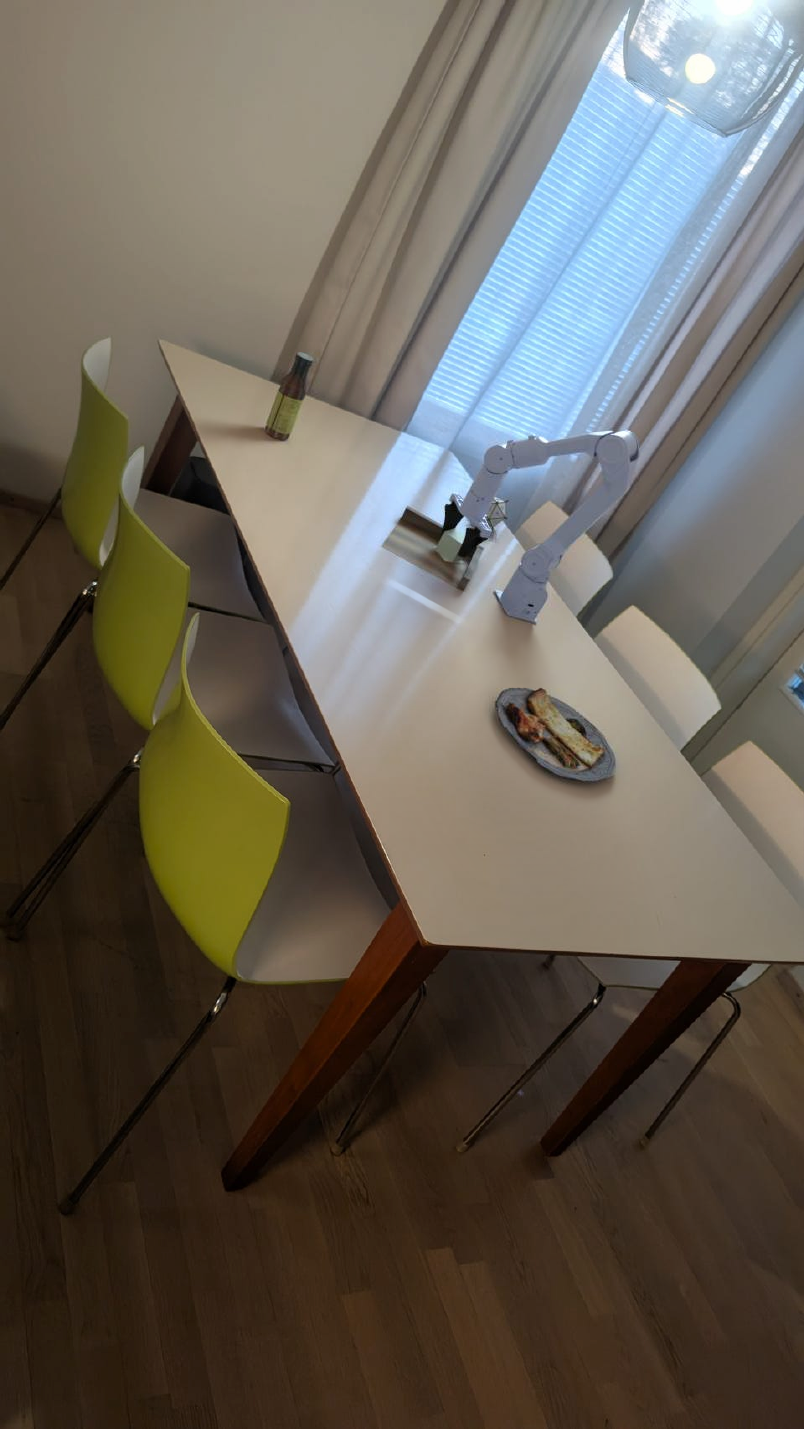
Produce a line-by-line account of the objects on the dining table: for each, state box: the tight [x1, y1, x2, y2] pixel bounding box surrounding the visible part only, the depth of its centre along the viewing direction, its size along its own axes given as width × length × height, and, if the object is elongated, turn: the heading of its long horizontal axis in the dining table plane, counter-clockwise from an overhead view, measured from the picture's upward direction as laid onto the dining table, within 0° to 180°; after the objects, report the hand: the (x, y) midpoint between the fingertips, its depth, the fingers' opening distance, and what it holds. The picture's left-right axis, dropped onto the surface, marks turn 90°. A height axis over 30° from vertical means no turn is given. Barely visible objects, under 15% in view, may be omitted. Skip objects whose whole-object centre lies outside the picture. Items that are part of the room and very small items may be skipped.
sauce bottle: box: [264, 351, 314, 441], centre depth 243 cm, size 7×6×20 cm
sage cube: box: [435, 528, 465, 563], centre depth 234 cm, size 5×5×5 cm
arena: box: [381, 505, 485, 592], centre depth 232 cm, size 20×20×4 cm
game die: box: [485, 496, 510, 531], centre depth 261 cm, size 9×8×10 cm
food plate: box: [494, 687, 617, 782], centre depth 193 cm, size 25×23×4 cm
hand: (453, 546), depth 234 cm, fingers open, 7 cm apart
